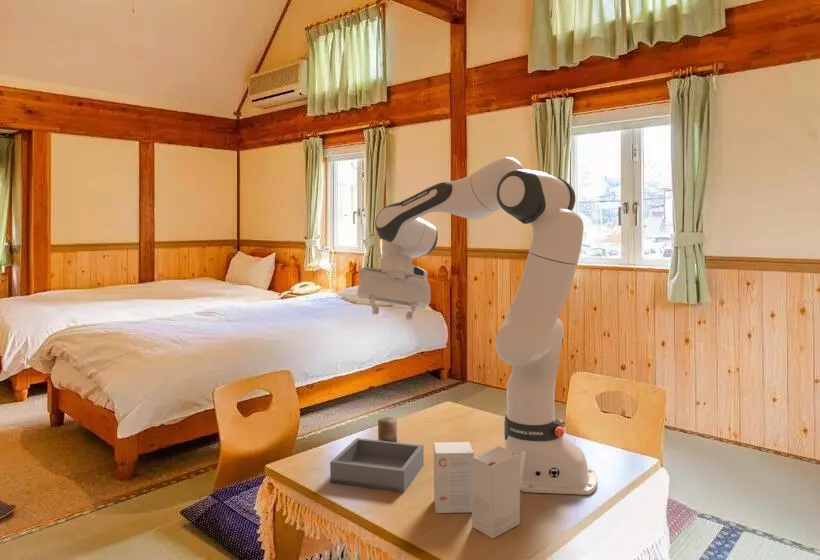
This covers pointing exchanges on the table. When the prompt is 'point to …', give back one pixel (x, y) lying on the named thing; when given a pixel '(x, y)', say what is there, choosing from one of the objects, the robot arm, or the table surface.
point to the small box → (453, 477)
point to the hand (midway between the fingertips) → (392, 316)
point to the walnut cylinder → (387, 429)
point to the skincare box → (495, 491)
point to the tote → (377, 464)
